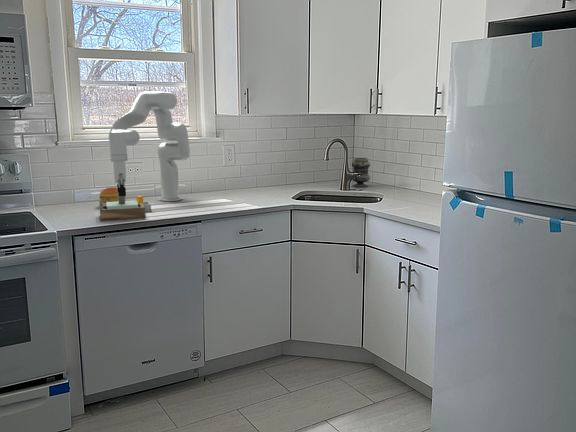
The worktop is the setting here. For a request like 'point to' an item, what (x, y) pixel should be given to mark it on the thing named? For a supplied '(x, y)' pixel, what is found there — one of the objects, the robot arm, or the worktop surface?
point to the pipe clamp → (139, 199)
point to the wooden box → (121, 213)
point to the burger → (109, 195)
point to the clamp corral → (147, 206)
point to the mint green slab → (121, 204)
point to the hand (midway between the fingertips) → (121, 194)
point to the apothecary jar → (361, 171)
